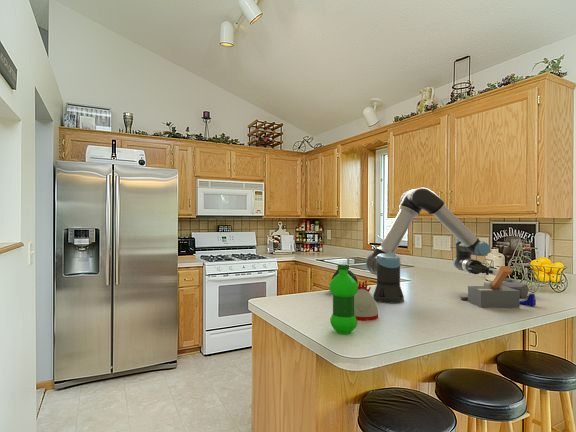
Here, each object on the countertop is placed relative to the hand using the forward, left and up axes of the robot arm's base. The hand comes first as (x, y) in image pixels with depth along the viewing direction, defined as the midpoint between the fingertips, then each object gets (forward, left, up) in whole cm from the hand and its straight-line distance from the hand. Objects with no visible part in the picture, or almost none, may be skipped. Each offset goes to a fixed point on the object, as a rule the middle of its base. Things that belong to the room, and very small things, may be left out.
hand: (498, 273), depth 162 cm
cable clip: (+15, +7, -16) cm, 23 cm away
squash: (-68, +35, -16) cm, 78 cm away
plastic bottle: (-79, -36, -16) cm, 89 cm away
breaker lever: (0, +5, -8) cm, 9 cm away
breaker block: (0, +5, -16) cm, 17 cm away
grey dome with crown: (-68, -15, -16) cm, 72 cm away
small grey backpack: (+21, +29, -17) cm, 39 cm away
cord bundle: (0, +15, -16) cm, 22 cm away
